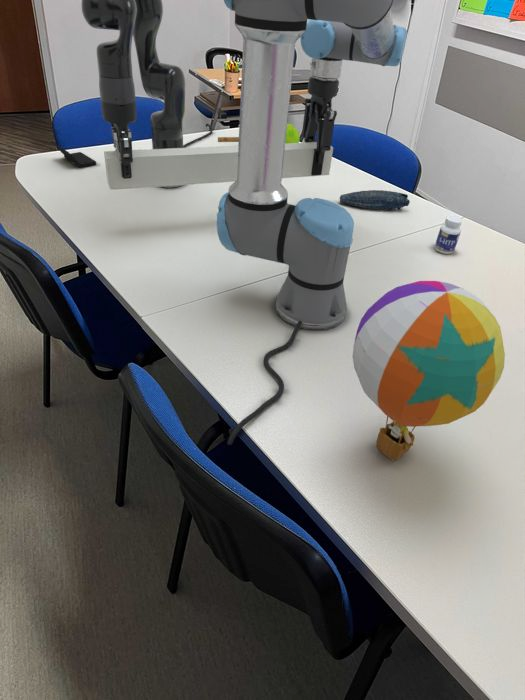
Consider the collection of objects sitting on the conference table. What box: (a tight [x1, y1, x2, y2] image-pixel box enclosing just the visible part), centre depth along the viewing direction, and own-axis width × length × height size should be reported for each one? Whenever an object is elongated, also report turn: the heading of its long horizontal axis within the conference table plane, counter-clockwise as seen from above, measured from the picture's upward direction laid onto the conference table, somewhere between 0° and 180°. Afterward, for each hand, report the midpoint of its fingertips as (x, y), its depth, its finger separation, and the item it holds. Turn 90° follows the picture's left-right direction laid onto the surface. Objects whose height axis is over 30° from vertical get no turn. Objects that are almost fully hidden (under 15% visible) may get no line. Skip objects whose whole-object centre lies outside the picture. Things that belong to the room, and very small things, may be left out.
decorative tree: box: [217, 123, 301, 143], centre depth 187 cm, size 18×10×30 cm
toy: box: [352, 280, 506, 462], centre depth 74 cm, size 20×20×30 cm
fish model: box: [339, 189, 411, 211], centre depth 158 cm, size 7×21×5 cm, turn 84°
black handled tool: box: [52, 142, 97, 168], centre depth 169 cm, size 12×7×10 cm
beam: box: [103, 141, 334, 191], centre depth 133 cm, size 59×5×7 cm, turn 111°
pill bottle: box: [434, 215, 463, 255], centre depth 137 cm, size 5×5×9 cm
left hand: (125, 173), depth 125 cm, fingers closed on beam, 5 cm apart
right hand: (311, 170), depth 143 cm, fingers closed on beam, 5 cm apart
